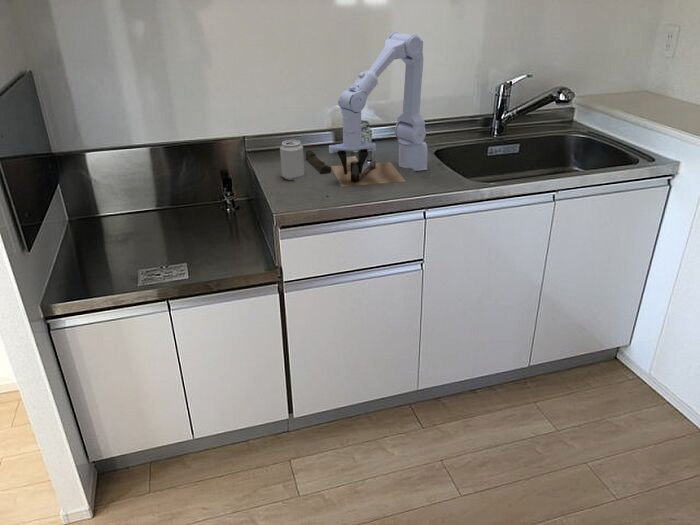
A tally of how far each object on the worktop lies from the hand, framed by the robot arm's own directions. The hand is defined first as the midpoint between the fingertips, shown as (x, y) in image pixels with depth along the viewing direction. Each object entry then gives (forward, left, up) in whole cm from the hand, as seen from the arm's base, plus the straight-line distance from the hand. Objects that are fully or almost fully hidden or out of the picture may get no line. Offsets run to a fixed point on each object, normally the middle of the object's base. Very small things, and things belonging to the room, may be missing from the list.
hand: (352, 173), depth 185 cm
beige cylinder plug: (-2, -11, -3) cm, 11 cm away
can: (+18, -11, -4) cm, 22 cm away
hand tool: (+10, -18, -4) cm, 21 cm away
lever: (-5, -6, -3) cm, 8 cm away
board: (-6, -6, -4) cm, 9 cm away
